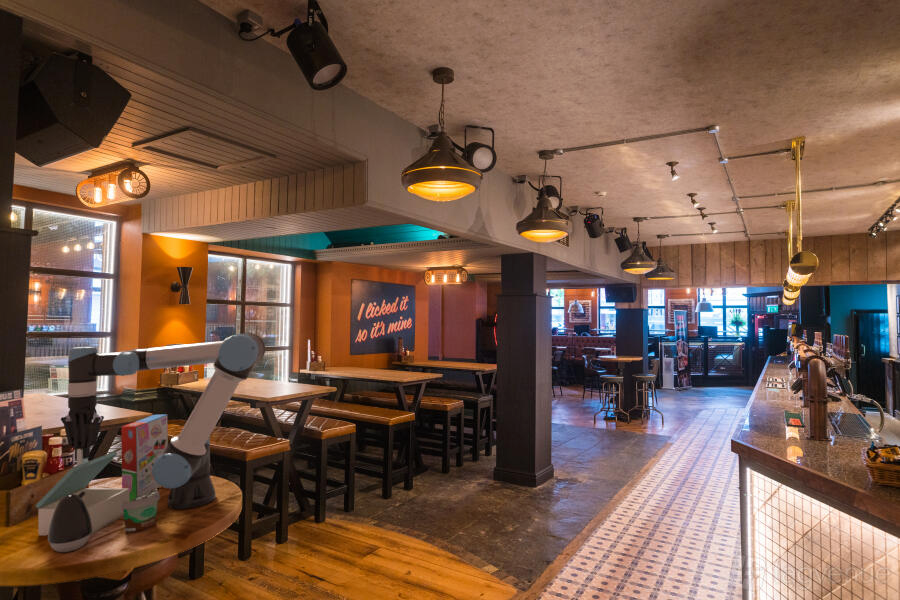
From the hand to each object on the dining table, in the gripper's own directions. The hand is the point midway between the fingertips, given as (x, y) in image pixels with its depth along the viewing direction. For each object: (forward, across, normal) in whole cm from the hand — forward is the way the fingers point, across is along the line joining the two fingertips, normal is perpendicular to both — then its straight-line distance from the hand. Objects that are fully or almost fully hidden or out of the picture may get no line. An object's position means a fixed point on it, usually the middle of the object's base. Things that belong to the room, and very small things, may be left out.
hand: (82, 468), depth 165 cm
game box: (+18, -2, -28) cm, 33 cm away
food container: (+18, -23, +3) cm, 29 cm away
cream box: (+18, -1, 0) cm, 18 cm away
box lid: (+4, +1, 0) cm, 4 cm away
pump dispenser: (+18, -10, +17) cm, 26 cm away
